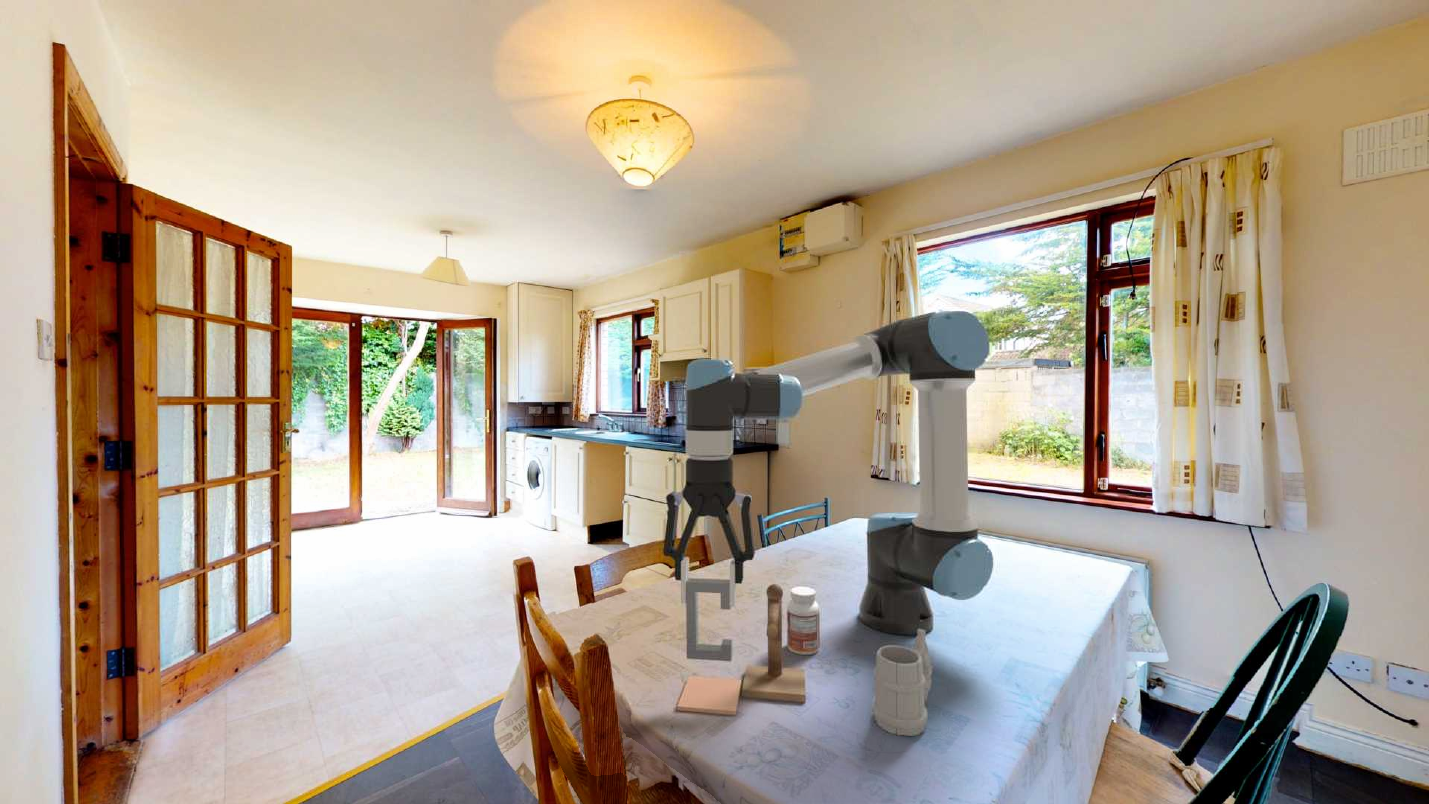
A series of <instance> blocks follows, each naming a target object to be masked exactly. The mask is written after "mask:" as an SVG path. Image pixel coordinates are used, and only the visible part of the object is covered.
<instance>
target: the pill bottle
mask: <svg viewBox="0 0 1429 804" xmlns="http://www.w3.org/2000/svg"><path fill="white" fill-rule="evenodd" d="M816 594H817V593H816V590H815V589H814V588H811V587H808V586H795V587H793V588H791V590H790V598H791V600H789V601H788V603H787V605H786V606H787V607H786V621H787V622H786V627H787V629H786V631H787V632H786V633H787V634H786V638H787V639H786V643H787V647H788V649H789V650H790V652H792V653H794V654H797V655H802V656H803V655H805V656H809V655H814V654H816V653H817V652H818V651H819V650H820V644H821V642H820V640H821V639H820V634H821V633H820V605H819V604H818V602H816V598H817V597H816V596H817V595H816Z"/></svg>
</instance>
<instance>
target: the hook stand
mask: <svg viewBox="0 0 1429 804" xmlns="http://www.w3.org/2000/svg"><path fill="white" fill-rule="evenodd" d="M766 596H767V624H766V625H767V626H766V627H767V628H766V637H767V666H765V665H764V666H763V665H752V664H751V665H750V664H746V667H745V672H744V678H743V682H742V687H741V698H745V699H761V700H769V701H770V700H773V701H784V702H796V703H797V702H798V703H806V700H807V698H806V695H807V694H806V672H805V671H806V670H805V668H793V667H792V668H789V667H783V604H782V603H783V596H784V591H783V588H782V586H780V585H779V584H776V583H772V584H770V585H769V586H768V587H767V589H766Z"/></svg>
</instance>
